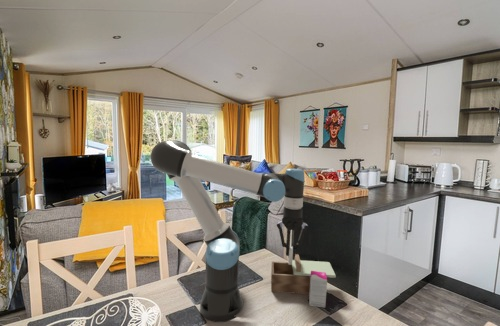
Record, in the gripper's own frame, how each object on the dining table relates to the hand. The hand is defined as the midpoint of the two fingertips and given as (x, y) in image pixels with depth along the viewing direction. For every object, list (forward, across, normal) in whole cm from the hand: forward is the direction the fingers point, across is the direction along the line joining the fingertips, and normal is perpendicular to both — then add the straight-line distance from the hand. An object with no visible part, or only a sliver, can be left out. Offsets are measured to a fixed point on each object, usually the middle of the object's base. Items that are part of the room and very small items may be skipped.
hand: (290, 263), depth 107 cm
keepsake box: (+10, +1, 0) cm, 10 cm away
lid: (+2, +9, 0) cm, 9 cm away
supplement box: (+11, +10, -10) cm, 17 cm away
